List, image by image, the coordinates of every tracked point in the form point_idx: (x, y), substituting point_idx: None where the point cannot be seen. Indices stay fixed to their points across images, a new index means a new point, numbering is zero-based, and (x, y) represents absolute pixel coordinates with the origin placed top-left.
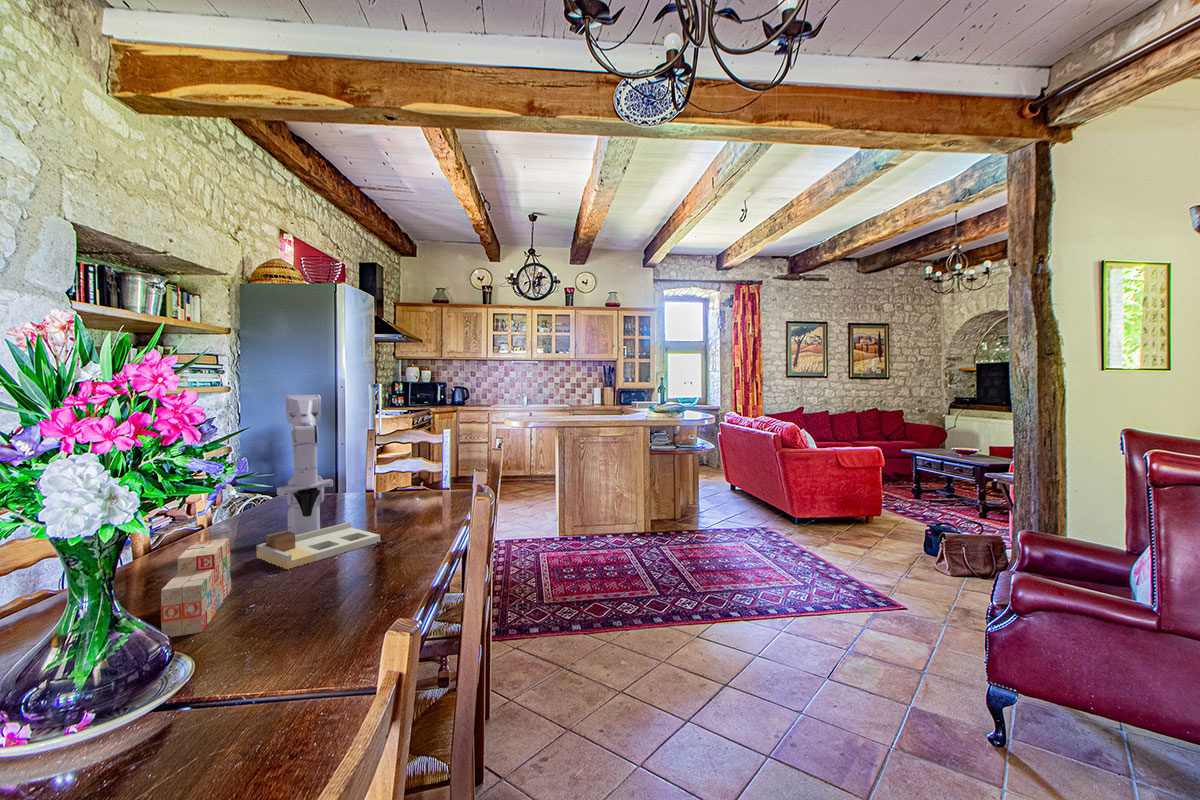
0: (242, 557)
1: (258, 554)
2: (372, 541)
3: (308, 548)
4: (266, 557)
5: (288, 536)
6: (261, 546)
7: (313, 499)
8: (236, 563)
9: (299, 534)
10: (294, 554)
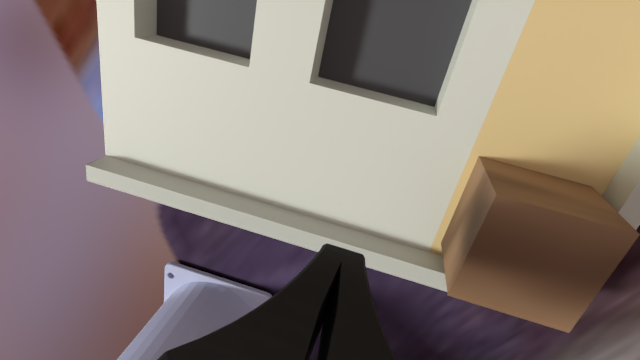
0: (541, 338)
1: None
2: None
3: (471, 71)
4: None
5: (539, 203)
6: None
7: (275, 332)
8: (626, 309)
9: None
10: (602, 56)
